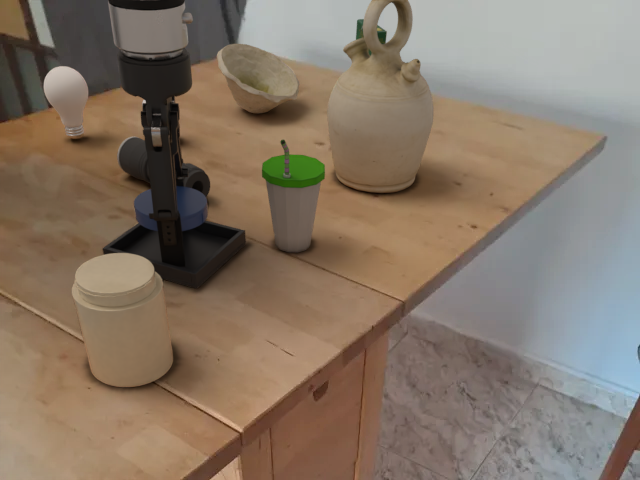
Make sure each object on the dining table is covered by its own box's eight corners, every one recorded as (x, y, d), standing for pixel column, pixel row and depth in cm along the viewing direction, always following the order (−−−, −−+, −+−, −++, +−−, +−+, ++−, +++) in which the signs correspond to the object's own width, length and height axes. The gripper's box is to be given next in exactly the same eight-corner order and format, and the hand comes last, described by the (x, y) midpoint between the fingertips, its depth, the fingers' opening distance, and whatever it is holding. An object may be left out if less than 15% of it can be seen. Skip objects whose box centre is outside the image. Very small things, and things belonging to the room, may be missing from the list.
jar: (72, 372, 69) (48, 282, 62) (122, 329, 75) (105, 242, 68) (142, 396, 67) (125, 305, 60) (188, 350, 73) (178, 262, 66)
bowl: (267, 131, 119) (266, 69, 112) (204, 114, 124) (199, 53, 117) (314, 108, 128) (315, 48, 121) (253, 92, 133) (251, 34, 126)
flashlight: (215, 200, 99) (212, 163, 95) (186, 212, 96) (182, 174, 92) (149, 168, 106) (144, 132, 102) (120, 178, 103) (114, 141, 99)
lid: (221, 209, 86) (220, 195, 84) (183, 239, 80) (182, 224, 79) (162, 193, 88) (160, 180, 87) (121, 221, 82) (118, 207, 81)
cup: (295, 224, 94) (296, 110, 84) (334, 246, 90) (341, 129, 80) (250, 242, 90) (246, 124, 80) (290, 265, 86) (290, 145, 76)
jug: (311, 163, 110) (315, -21, 92) (399, 153, 114) (419, -25, 97) (346, 204, 99) (358, 6, 82) (441, 191, 103) (472, 1, 86)
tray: (105, 262, 85) (102, 248, 84) (160, 222, 93) (158, 208, 92) (196, 288, 81) (195, 274, 80) (246, 244, 90) (245, 230, 88)
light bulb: (90, 129, 117) (76, 58, 109) (102, 142, 113) (89, 70, 105) (50, 135, 114) (33, 63, 106) (61, 149, 110) (45, 75, 102)
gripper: (185, 82, 64) (204, 291, 79) (192, 22, 79) (207, 207, 95) (102, 81, 63) (138, 292, 79) (126, 21, 79) (152, 207, 94)
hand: (176, 246), depth 87 cm, fingers closed on lid, 9 cm apart
